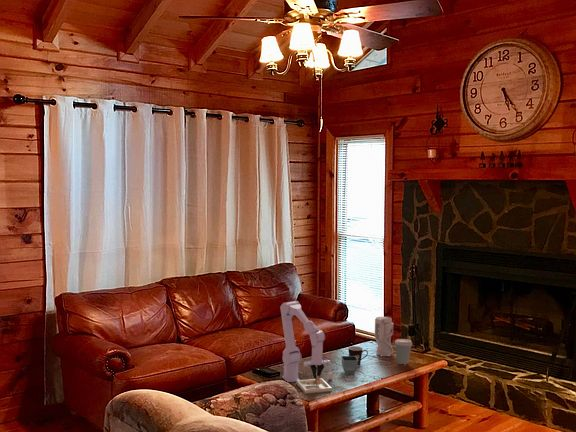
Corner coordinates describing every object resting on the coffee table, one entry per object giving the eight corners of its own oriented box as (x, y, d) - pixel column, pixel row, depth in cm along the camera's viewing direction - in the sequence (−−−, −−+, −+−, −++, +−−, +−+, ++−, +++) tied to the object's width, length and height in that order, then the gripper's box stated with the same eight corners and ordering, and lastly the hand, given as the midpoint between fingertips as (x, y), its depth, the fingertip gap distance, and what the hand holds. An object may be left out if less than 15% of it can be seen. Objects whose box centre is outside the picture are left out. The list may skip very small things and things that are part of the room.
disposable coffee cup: (390, 362, 379) (391, 339, 377) (402, 359, 385) (403, 336, 384) (402, 367, 370) (403, 343, 369) (415, 364, 377) (416, 340, 375)
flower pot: (340, 370, 362) (341, 355, 362) (355, 370, 363) (355, 355, 362) (342, 375, 354) (343, 360, 353) (357, 375, 354) (358, 360, 353)
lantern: (382, 350, 403) (383, 313, 401) (395, 354, 395) (396, 316, 393) (370, 355, 394) (371, 316, 391) (383, 358, 386) (385, 319, 384)
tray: (296, 384, 339) (296, 380, 338) (321, 381, 343) (322, 378, 343) (305, 393, 324) (305, 390, 324) (331, 391, 329) (332, 387, 329)
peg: (327, 379, 347) (328, 372, 346) (331, 379, 347) (331, 372, 347) (329, 380, 345) (329, 373, 345) (332, 380, 346) (332, 373, 345)
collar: (306, 384, 335) (305, 375, 336) (318, 383, 337) (317, 374, 338) (312, 385, 326) (311, 376, 327) (324, 384, 328) (324, 375, 329)
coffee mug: (346, 365, 372) (347, 349, 371) (349, 361, 380) (349, 345, 379) (365, 367, 368) (366, 351, 367) (368, 363, 376) (368, 347, 376)
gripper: (306, 356, 323) (306, 381, 324) (332, 354, 327) (331, 379, 328) (302, 352, 329) (301, 377, 331) (327, 350, 334) (327, 375, 335)
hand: (316, 378), depth 330 cm, fingers closed on collar
